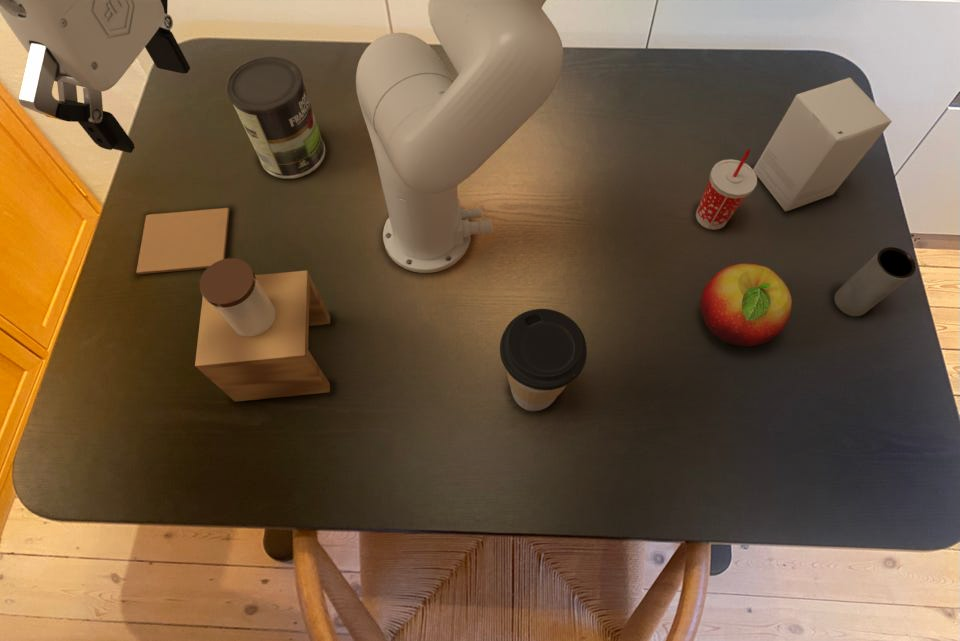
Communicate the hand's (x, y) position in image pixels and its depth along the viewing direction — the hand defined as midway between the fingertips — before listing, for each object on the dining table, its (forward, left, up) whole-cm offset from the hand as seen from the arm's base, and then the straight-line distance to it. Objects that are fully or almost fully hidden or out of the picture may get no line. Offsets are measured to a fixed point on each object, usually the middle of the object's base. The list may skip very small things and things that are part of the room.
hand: (147, 106), depth 53 cm
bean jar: (-2, +10, -22) cm, 24 cm away
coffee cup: (-34, +18, -34) cm, 52 cm away
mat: (+13, -10, -34) cm, 38 cm away
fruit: (-62, +11, -34) cm, 72 cm away
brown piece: (-2, +10, -34) cm, 35 cm away
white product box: (-78, -11, -34) cm, 86 cm away
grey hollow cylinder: (-79, +10, -34) cm, 87 cm away
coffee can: (-2, -25, -34) cm, 43 cm away
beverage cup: (-64, -6, -34) cm, 73 cm away
